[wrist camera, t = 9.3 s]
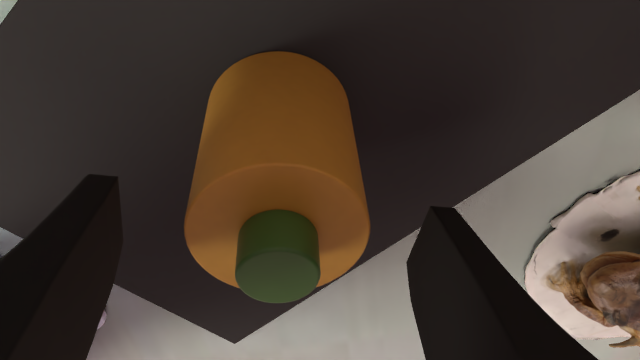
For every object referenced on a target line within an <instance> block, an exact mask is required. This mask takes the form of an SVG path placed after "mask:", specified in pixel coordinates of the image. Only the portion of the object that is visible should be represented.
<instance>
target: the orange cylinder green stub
mask: <svg viewBox="0 0 640 360" xmlns="http://www.w3.org/2000/svg"><path fill="white" fill-rule="evenodd" d="M184 235H185V239H186V243H187V246H188V248H189V250H190V252H191V254H192V255H193V257H194V258H195V260H196V261H197V262H198V263H199V264H200V265H201V267H202V268H204V269H205V270H206V271H207V272H208V273H210V274H211V275H213V276H214V277H216V278H217V279H219V280H221V281H223V282H225V283H227V284H229V285H232V286H235V287H237V288H240V289H241V290H242V291H243V292H244V293H245V294H247V295H248V296H250V297H252V298H254V299H256V300H259V301H263V302H268V303H286V302H292V301H295V300H298V299H301V298H303V297H305V296H307V295H308V294H310V293H311V292H312V291H313V290H314V289H315V288H316V287H319V286H322V285H324V284H326V283H329V282H331V281H333V280H334V279H336V278H338V277H340V276H341V275H342V274H344V273H345V272H347V271H348V270H349V269H350V268H351V267H352V266H353V265H354V264H355V263H356V262H357V261H358V259H359V258H360V257H361V255H362V254H363V252H364V250H365V248H366V245H367V243H368V240H369V235H370V219H369V213H368V207H367V202H366V196H365V191H364V185H363V180H362V174H361V169H360V163H359V158H358V152H357V147H356V141H355V136H354V130H353V125H352V119H351V114H350V108H349V103H348V99H347V95H346V92H345V90H344V88H343V86H342V85H341V83H340V82H339V80H338V79H337V78H336V76H335V75H334V74H333V73H332V72H331V71H330V70H328V69H327V68H326V67H325V66H323V65H322V64H320V63H319V62H317V61H315V60H313V59H311V58H309V57H306V56H303V55H300V54H296V53H291V52H282V51H273V52H264V53H258V54H255V55H252V56H249V57H246V58H244V59H242V60H240V61H238V62H237V63H235V64H233V65H232V66H231V67H229V68H228V69H227V70H226V71H225V72H224V73H223V74H222V75H221V76H220V77H219V79H218V80H217V82H216V83H215V85H214V87H213V89H212V91H211V93H210V97H209V100H208V105H207V110H206V115H205V120H204V125H203V130H202V135H201V140H200V145H199V150H198V155H197V160H196V165H195V170H194V175H193V180H192V185H191V190H190V195H189V200H188V205H187V210H186V215H185V221H184Z"/></svg>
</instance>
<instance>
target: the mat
mask: <svg viewBox="0 0 640 360" xmlns="http://www.w3.org/2000/svg"><path fill="white" fill-rule="evenodd" d="M273 51H282V52H291V53H296V54H300V55H303V56H306V57H309V58H311V59H313V60H315V61H317V62H319V63H320V64H322V65H323V66H325V67H326V68H327V69H328V70H330V71H331V72H332V73H333V74H334V75H335V76H336V78H337V79H338V80H339V82H340V83H341V85H342V86H343V88H344V90H345V92H346V95H347V99H348V103H349V108H350V114H351V119H352V125H353V130H354V136H355V141H356V147H357V152H358V158H359V163H360V169H361V174H362V180H363V185H364V191H365V196H366V202H367V207H368V213H369V219H370V235H369V240H368V243H367V245H366V248H365V250H364V252H363V254H362V255H361V257H360V258H359V259H358V261H357V262H356V263H355V264H354V265H353V266H352V267H351V268H350V269H349V270H348V271H347V272H345V273H344V274H342V275H341V276H340V277H342V276H344V275H345V274H347V273H348V272H350V271H352V270H353V269H355V268H356V267H358V266H359V265H361V264H363V263H364V262H366V261H367V260H369V259H371V258H372V257H374V256H375V255H377V254H379V253H380V252H382V251H383V250H385V249H387V248H388V247H390V246H391V245H393V244H395V243H396V242H398V241H399V240H401V239H402V238H404V237H406V236H407V235H409V234H410V233H412V232H414V231H415V230H417V229H418V228H420V227H422V224H423V222H424V220H425V217H426V215H427V213H428V210H429V208H430V206H438V207H449V208H452V207H453V206H455V205H457V204H458V203H460V202H461V201H463V200H465V199H466V198H468V197H469V196H471V195H472V194H474V193H476V192H477V191H479V190H480V189H482V188H484V187H485V186H487V185H488V184H490V183H492V182H493V181H495V180H496V179H498V178H500V177H501V176H503V175H504V174H506V173H508V172H509V171H511V170H512V169H514V168H515V167H517V166H519V165H520V164H522V163H523V162H525V161H527V160H528V159H530V158H531V157H533V156H535V155H536V154H538V153H539V152H541V151H543V150H544V149H546V148H547V147H549V146H550V145H552V144H554V143H555V142H557V141H558V140H560V139H562V138H563V137H565V136H566V135H568V134H570V133H571V132H573V131H574V130H576V129H578V128H579V127H581V126H582V125H584V124H586V123H587V122H589V121H590V120H592V119H593V118H595V117H597V116H598V115H600V114H601V113H603V112H605V111H606V110H608V109H609V108H611V107H613V106H614V105H616V104H617V103H619V102H621V101H622V100H624V99H625V98H627V97H628V96H630V95H632V94H633V93H635V92H636V91H638V90H640V0H18V1H17V2H16V4H15V5H14V6H13V8H12V9H11V11H10V12H9V13H8V15H7V16H6V18H5V19H4V20H3V22H2V23H1V24H0V227H1V228H3V229H5V230H7V231H9V232H11V233H13V234H15V235H17V236H19V237H21V238H23V239H24V238H25V237H26V236H27V235H28V234H29V233H30V232H31V231H32V230H33V229H34V228H35V227H36V226H37V225H38V224H39V223H40V222H42V221H43V220H44V219H45V218H46V217H47V216H48V215H49V214H50V213H51V212H52V211H53V210H54V209H55V208H56V207H57V205H58V204H59V203H60V202H61V201H62V200H63V199H64V198H65V197H66V196H67V195H68V194H69V193H70V192H71V191H72V190H73V189H74V188H75V186H76V185H77V184H78V183H79V182H80V181H81V180H82V179H83V178H84V177H85V176H87V175H88V174H97V175H107V176H118V182H119V194H120V206H121V217H122V229H123V246H122V250H121V255H120V259H119V264H118V268H117V272H116V276H115V280H114V284H116V285H118V286H120V287H122V288H124V289H126V290H128V291H130V292H132V293H134V294H136V295H138V296H140V297H142V298H144V299H146V300H148V301H150V302H152V303H154V304H156V305H158V306H160V307H162V308H164V309H166V310H168V311H170V312H172V313H174V314H176V315H178V316H180V317H182V318H184V319H186V320H188V321H190V322H192V323H194V324H196V325H198V326H200V327H202V328H204V329H206V330H208V331H210V332H212V333H214V334H216V335H218V336H220V337H222V338H224V339H226V340H228V341H230V342H232V343H234V344H235V343H237V342H239V341H240V340H242V339H243V338H245V337H246V336H248V335H250V334H251V333H253V332H254V331H256V330H258V329H259V328H261V327H262V326H264V325H266V324H267V323H269V322H270V321H272V320H274V319H275V318H277V317H278V316H280V315H281V314H283V313H285V312H286V311H288V310H289V309H291V308H293V307H294V306H296V305H297V304H299V303H301V302H302V301H304V300H305V299H307V298H309V297H310V296H312V295H313V294H315V293H317V292H318V291H320V290H321V289H323V288H324V287H326V286H328V285H329V284H331V283H332V282H334V281H336V280H337V279H339V278H340V277H338V278H336V279H334V280H333V281H331V282H329V283H326V284H324V285H322V286H319V287H316V288H315V289H314V290H313V291H312V292H311V293H310V294H308V295H307V296H305V297H303V298H301V299H298V300H295V301H292V302H286V303H268V302H263V301H259V300H256V299H254V298H252V297H250V296H248V295H247V294H245V293H244V292H243V291H242V290H241V289H240V288H237V287H235V286H232V285H229V284H227V283H225V282H223V281H221V280H219V279H217V278H216V277H214V276H213V275H211V274H210V273H208V272H207V271H206V270H205V269H204V268H202V267H201V265H200V264H199V263H198V262H197V261H196V260H195V258H194V257H193V255H192V254H191V252H190V250H189V248H188V246H187V243H186V239H185V235H184V221H185V215H186V210H187V205H188V200H189V195H190V190H191V185H192V180H193V175H194V170H195V165H196V160H197V155H198V150H199V145H200V140H201V135H202V130H203V125H204V120H205V115H206V110H207V105H208V100H209V97H210V93H211V91H212V89H213V87H214V85H215V83H216V82H217V80H218V79H219V77H220V76H221V75H222V74H223V73H224V72H225V71H226V70H227V69H228V68H229V67H231V66H232V65H233V64H235V63H237V62H238V61H240V60H242V59H244V58H246V57H249V56H252V55H255V54H258V53H264V52H273Z"/></svg>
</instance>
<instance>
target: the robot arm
mask: <svg viewBox="0 0 640 360" xmlns="http://www.w3.org/2000/svg"><path fill="white" fill-rule="evenodd" d="M122 246H123V229H122V217H121V206H120V194H119V182H118V176H107V175H97V174H88V175H87V176H85V177H84V178H83V179H82V180H81V181H80V182H79V183H78V184H77V185H76V186H75V188H74V189H73V190H72V191H71V192H70V193H69V194H68V195H67V196H66V197H65V198H64V199H63V200H62V201H61V202H60V203H59V204H58V205H57V207H56V208H55V209H54V210H53V211H52V212H51V213H50V214H49V215H48V216H47V217H46V218H45V219H44V220H43V221H42V222H40V223H39V224H38V225H37V226H36V227H35V228H34V229H33V230H32V231H31V232H30V233H29V234H28V235H27V236H26V237H25V238H24V239H23V240H22V241H21V242H20V243H18V244H17V245H16V246H15V247H14V248H13V249H12V250H11V251H9V252H8V253H7V254H6V255H5V256H4V257H2V258H1V259H0V360H86V358H87V355H88V353H89V350H90V347H91V344H92V342H93V339H94V336H95V333H96V331H97V329H99V328H100V327H101V326H103V324H104V323H105V320H106V317H107V314H106V312H105V311H104V309H105V306H106V303H107V301H108V298H109V295H110V292H111V289H112V287H113V284H114V280H115V276H116V272H117V268H118V264H119V259H120V255H121V250H122ZM407 272H408V281H409V289H410V297H411V303H412V307H413V311H414V315H415V319H416V323H417V327H418V331H419V335H420V339H421V343H422V347H423V350H424V354H425V358H426V360H598V359H597V358H596V357H594V356H593V355H592V354H591V353H590V352H589V351H587V350H586V349H585V348H584V347H583V346H582V345H580V344H579V343H578V342H577V341H576V340H575V339H574V338H573V337H572V336H571V335H569V334H568V333H567V332H566V331H565V330H564V329H563V328H562V327H561V326H560V325H558V324H557V323H556V322H555V321H554V320H553V319H552V318H551V317H550V316H549V315H548V314H547V313H546V312H545V311H544V310H543V309H542V308H541V307H540V306H539V305H538V304H537V303H536V302H535V301H534V300H533V298H532V297H531V296H530V295H529V294H528V293H527V292H526V291H525V290H524V289H523V288H522V287H521V286H520V285H519V284H518V282H517V281H516V280H515V279H514V278H513V277H512V276H511V275H510V273H509V272H508V271H507V270H506V269H505V268H504V267H503V265H502V264H501V263H500V262H499V261H498V260H497V258H496V257H495V256H494V255H493V254H492V253H491V251H490V250H489V249H488V248H487V247H486V245H485V244H484V243H483V242H482V240H481V239H480V238H479V237H478V236H477V234H476V233H475V232H474V231H473V230H472V228H471V227H470V226H469V225H468V223H467V222H466V221H465V220H464V219H463V217H462V216H461V215H460V214H459V213H458V212H457V211H456V209H455V208H449V207H438V206H430V208H429V210H428V213H427V215H426V217H425V220H424V222H423V224H422V227H421V229H420V232H419V234H418V236H417V239H416V241H415V243H414V246H413V248H412V251H411V253H410V255H409V258H408V260H407Z"/></svg>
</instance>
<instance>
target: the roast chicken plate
mask: <svg viewBox="0 0 640 360" xmlns="http://www.w3.org/2000/svg"><path fill="white" fill-rule="evenodd" d="M626 176H628V177H626ZM626 176H623V177H621V178H619V179H618V180H617V181H615V182H614V183H612V184H611V185H609V186H607V187H609V188H607V187H606V188H607V189H606V188H604V189H605V190H604V189H603V190H602V191H601V192H599V193H597V194H595V195H594V194H592V193H590V194H589V193H588V194H586V195H585V196H583V197H582V198H581V199H579V200H578V201H577V202H576V203H575V204H574V205H573V206H572V207H571V208H570V209H569V210H568V211H567V212H565V213H563V214H562V215H559V216H558V217H556V218H555V219H552V221H551V226H552V227H553V228H554V227H556V228H555V229H554V230H553V231H552V232H551V233H549V235H548V236H546V238H544V239H543V241H542V242H541V243H540V244H539V245H538V247H537V248H536V249H535V250H534V254H533V255H532V258H531V260H530V262H529V263H528V265H527V266H526V269H525V275H526V278H525V286H526V288H527V293H528V294H529V295H530V296H531V297H532V298H533V300H534V301H535V302H536V303H537V304H538V305H539V306H540V307H541V308H542V309H543V310H544V311H545V312H546V313H547V314H548V315H549V316H550V317H551V318H552V319H553V320H554V321H555V322H556V323H557V324H558V325H560V326H561V327H562V328H563V329H564V330H565V331H566V332H567V333H568V334H569V335H571V336H572V337H573V338H574V339H595V340H597V339H603V338H613V337H631V338H630V339H628V340H626V341H624V342H621V343H616V344H609V346H610V347H619V348H620V347H627V346H640V171H639V172H637V173H636V174H632V175H631V176H630V175H626ZM624 177H626V178H624ZM622 178H624V179H622ZM621 179H622V180H621Z"/></svg>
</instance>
